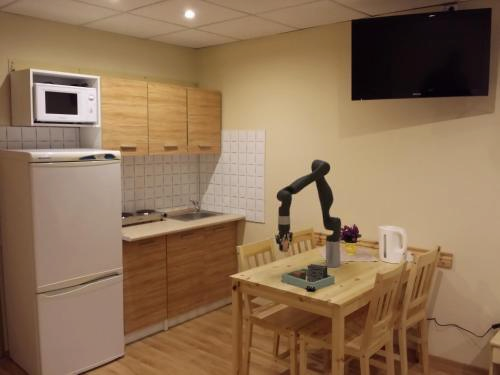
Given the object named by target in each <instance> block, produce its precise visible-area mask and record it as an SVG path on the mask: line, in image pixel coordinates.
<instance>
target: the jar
mask: <svg viewBox="0 0 500 375" xmlns="http://www.w3.org/2000/svg"><path fill="white" fill-rule="evenodd" d="M281 240H282V239H281ZM280 252H281V253H287V252H289V249H288V240H287V239H284V241H283V251H280Z"/></svg>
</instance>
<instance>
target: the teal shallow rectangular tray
mask: <svg viewBox="0 0 500 375" xmlns="http://www.w3.org/2000/svg"><path fill="white" fill-rule="evenodd" d="M296 270H300V271H304V272H306V277H308V268H306V267H302V268H299V269H295V270H292V271H288V272H285V273H282V274H281V282H283V283H285V284H289V285H292V286H295V287H299V288H302V289H304V290H305V289H306V287H307V286H310V287H312V288H313V287H315V289H316V290H319V289H322V288H327V287H329V286H331V285H334V284H335V278H336V277H335V275H332V274H329V273H327V278H325V279H322V280H318V281H315V282H309V281H308V280H307V279H306V280H302V279H299V278H296V277H292V272H293V271H296ZM306 290H307V289H306ZM316 290H315V291H316Z"/></svg>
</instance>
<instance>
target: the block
mask: <svg viewBox="0 0 500 375" xmlns="http://www.w3.org/2000/svg"><path fill="white" fill-rule="evenodd" d="M295 270H296V271H295ZM295 270H292V271H293V272H292V277H296V278H299V279H302V280H306V281H307V279H306V277H307V276H306V272H304V271H300V270H298V269H295Z"/></svg>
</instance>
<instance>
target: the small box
mask: <svg viewBox="0 0 500 375" xmlns="http://www.w3.org/2000/svg"><path fill="white" fill-rule="evenodd" d="M307 269H308V276H307V280H308V279H316V281H318V280H322V279H325V278H327V274H328V266H326V265H321V264H314V263H311V264H309V265H307Z"/></svg>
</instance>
